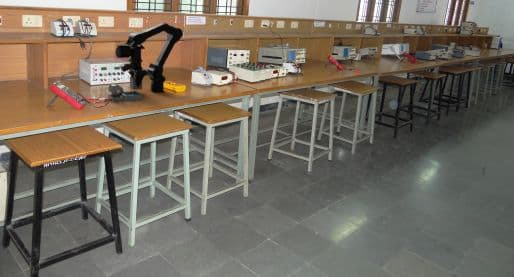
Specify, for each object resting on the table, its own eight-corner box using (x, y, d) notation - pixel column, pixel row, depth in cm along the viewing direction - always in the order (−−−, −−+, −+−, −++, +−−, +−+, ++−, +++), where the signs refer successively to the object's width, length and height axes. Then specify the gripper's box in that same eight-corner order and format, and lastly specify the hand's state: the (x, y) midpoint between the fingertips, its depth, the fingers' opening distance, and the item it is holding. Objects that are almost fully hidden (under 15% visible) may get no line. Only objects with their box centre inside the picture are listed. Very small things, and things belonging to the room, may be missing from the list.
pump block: (139, 87, 236) (138, 74, 234) (142, 89, 232) (142, 75, 230) (130, 87, 233) (130, 74, 231) (133, 89, 229) (133, 76, 227)
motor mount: (135, 95, 228) (135, 81, 226) (142, 99, 221) (142, 85, 218) (107, 97, 220) (106, 83, 217) (113, 101, 212) (112, 86, 210)
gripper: (115, 55, 230) (116, 83, 235) (126, 60, 216) (127, 90, 220) (135, 54, 236) (135, 82, 241) (147, 60, 222) (147, 89, 227)
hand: (136, 85), depth 232 cm, fingers closed on pump block, 5 cm apart
